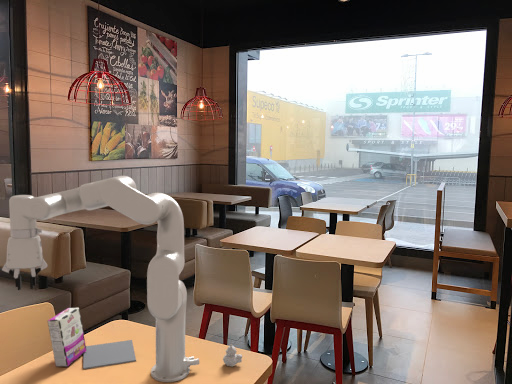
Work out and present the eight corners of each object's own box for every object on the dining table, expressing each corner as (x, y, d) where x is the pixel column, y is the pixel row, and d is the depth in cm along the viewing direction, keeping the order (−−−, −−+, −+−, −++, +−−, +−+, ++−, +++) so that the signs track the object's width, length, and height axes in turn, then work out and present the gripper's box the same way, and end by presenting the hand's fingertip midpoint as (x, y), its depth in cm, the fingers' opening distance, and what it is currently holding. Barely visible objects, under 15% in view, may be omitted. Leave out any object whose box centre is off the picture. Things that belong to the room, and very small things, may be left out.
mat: (132, 341, 163) (131, 339, 163) (136, 361, 148) (136, 359, 148) (84, 347, 157) (83, 346, 157) (83, 369, 142) (83, 368, 142)
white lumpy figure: (224, 360, 150) (224, 339, 149) (242, 361, 150) (243, 339, 149) (222, 368, 145) (222, 346, 144) (241, 369, 144) (242, 347, 144)
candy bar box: (74, 351, 154) (67, 307, 153) (87, 351, 153) (80, 307, 152) (54, 367, 143) (46, 320, 142) (67, 367, 142) (59, 319, 141)
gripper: (52, 229, 145) (54, 282, 147) (-3, 232, 139) (-1, 287, 141) (50, 234, 138) (52, 289, 140) (-8, 237, 132) (-6, 294, 134)
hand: (26, 287), depth 140 cm, fingers open, 3 cm apart
